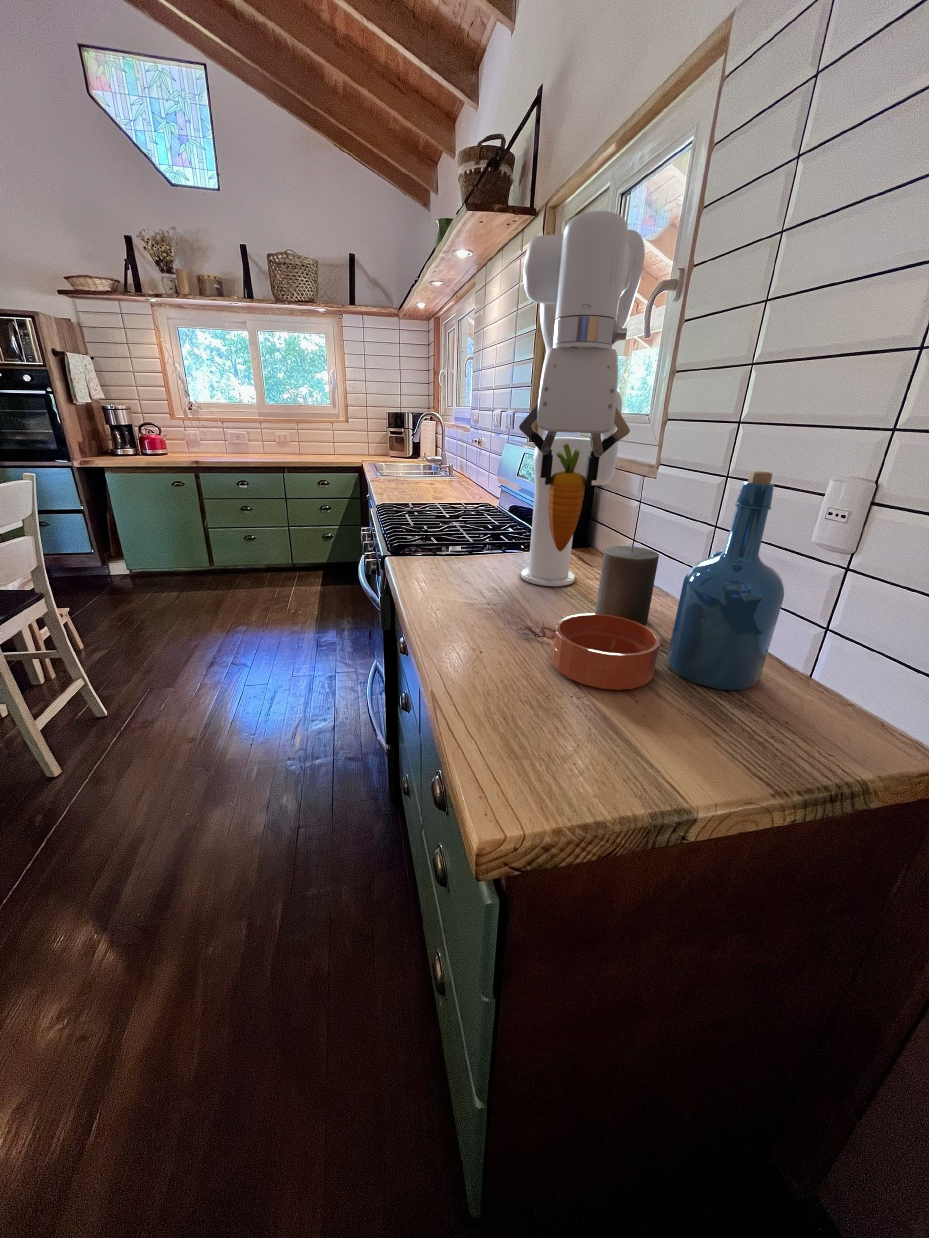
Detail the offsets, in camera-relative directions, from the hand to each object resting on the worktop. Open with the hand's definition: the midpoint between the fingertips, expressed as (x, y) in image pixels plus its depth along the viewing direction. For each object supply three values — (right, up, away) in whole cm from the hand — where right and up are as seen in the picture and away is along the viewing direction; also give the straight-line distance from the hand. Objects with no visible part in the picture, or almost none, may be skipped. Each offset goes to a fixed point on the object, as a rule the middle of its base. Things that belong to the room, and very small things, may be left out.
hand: (567, 483), depth 70 cm
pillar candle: (+15, -20, +25) cm, 35 cm away
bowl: (+7, -27, +7) cm, 29 cm away
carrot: (0, -9, +4) cm, 10 cm away
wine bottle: (+24, -27, +7) cm, 37 cm away
